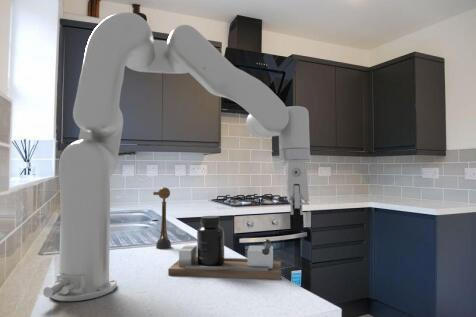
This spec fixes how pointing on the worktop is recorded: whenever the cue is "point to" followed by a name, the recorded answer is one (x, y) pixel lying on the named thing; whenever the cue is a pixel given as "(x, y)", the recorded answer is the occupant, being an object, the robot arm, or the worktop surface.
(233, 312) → the worktop surface
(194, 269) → the vise base
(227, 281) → the worktop surface
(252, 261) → the block
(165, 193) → the wooden tabletop sculpture
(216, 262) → the supplement bottle
